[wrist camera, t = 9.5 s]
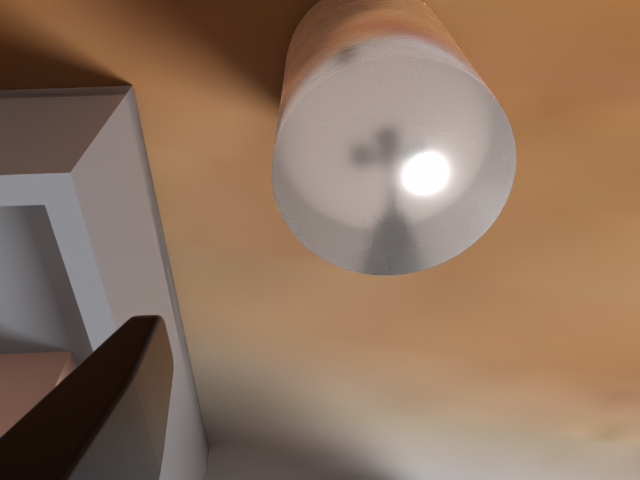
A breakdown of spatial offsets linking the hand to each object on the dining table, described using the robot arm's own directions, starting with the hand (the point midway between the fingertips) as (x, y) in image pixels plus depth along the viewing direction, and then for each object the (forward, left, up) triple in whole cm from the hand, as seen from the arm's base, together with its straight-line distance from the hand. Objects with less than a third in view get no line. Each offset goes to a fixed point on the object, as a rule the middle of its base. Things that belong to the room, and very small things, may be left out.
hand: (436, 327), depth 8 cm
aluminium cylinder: (0, 0, -12) cm, 12 cm away
